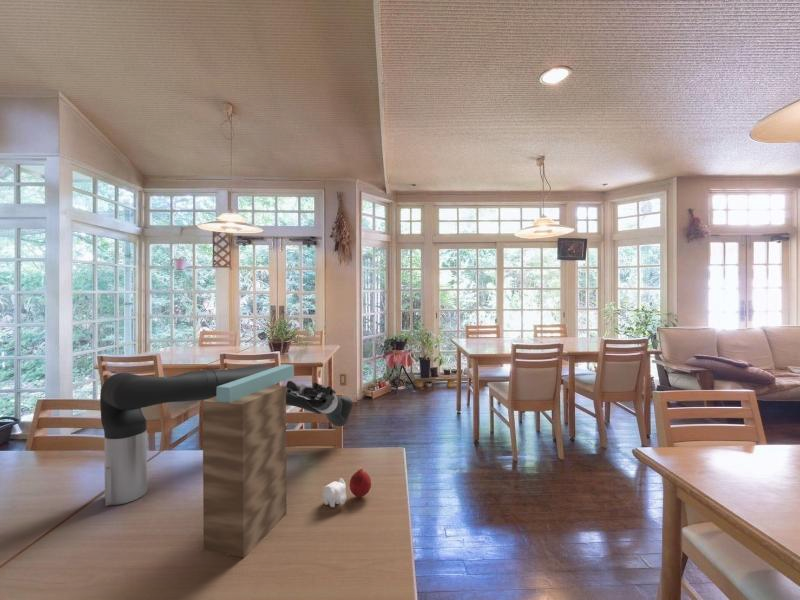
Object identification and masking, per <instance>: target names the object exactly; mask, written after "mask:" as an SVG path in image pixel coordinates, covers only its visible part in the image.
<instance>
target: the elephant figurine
mask: <svg viewBox="0 0 800 600" xmlns="http://www.w3.org/2000/svg"><path fill="white" fill-rule="evenodd" d="M346 489H347V483H346V482H345V480H344V479H343V478H342V477H339V478H338V481H332V482H330V483H329V484H327V485H325V486H324V485H322V490H321V496H322V500H323V504H324V505H325V506H326V505H329V507H331V508H335V506H336V505H341V506H343V505H344V504H345V503H346V500H348V498H347V497H348V495H347V492H346Z"/></svg>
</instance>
